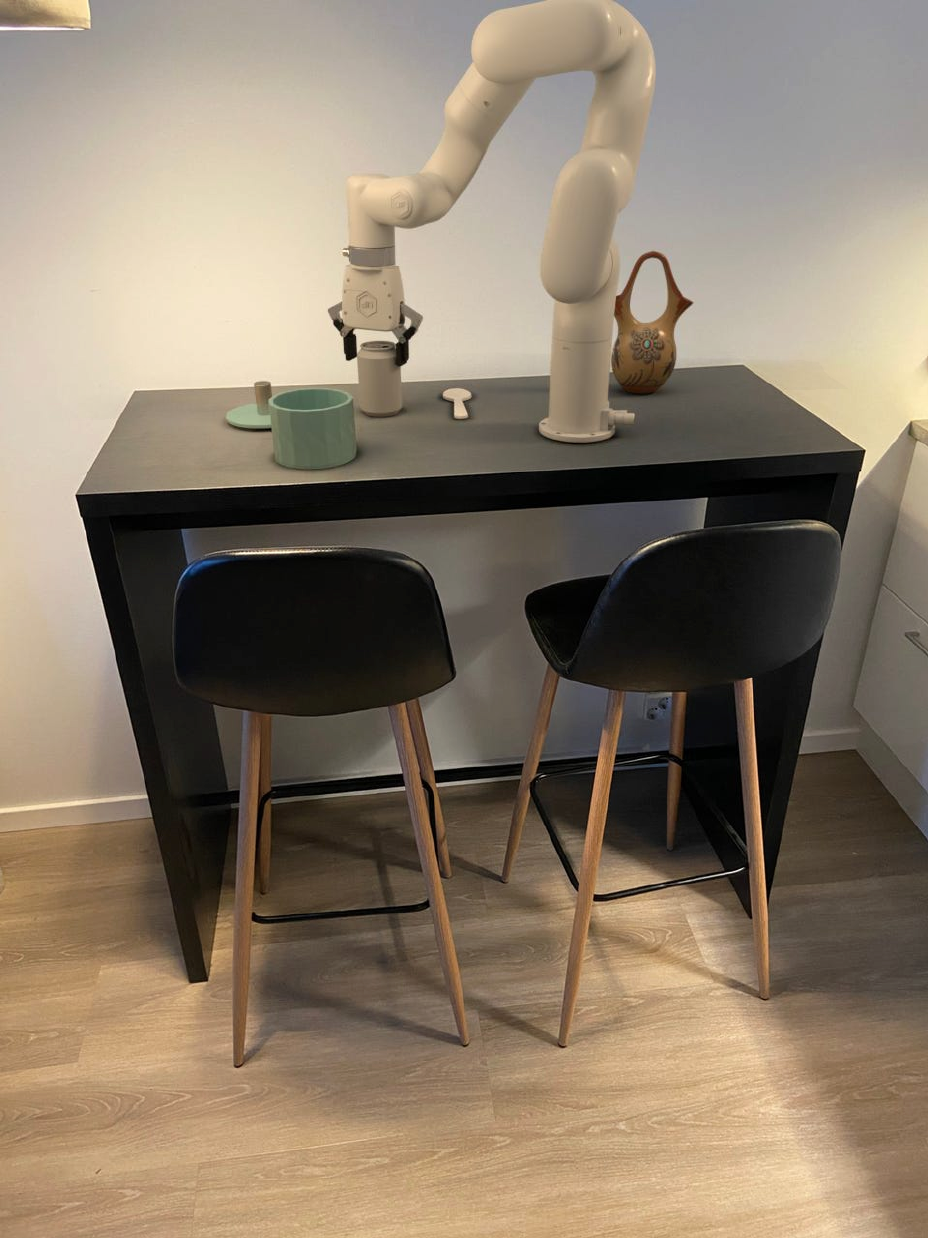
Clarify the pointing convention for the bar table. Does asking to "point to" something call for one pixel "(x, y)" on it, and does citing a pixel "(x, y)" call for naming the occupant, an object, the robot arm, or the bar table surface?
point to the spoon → (458, 401)
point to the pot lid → (253, 409)
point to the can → (379, 379)
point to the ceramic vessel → (646, 336)
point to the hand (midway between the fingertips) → (376, 361)
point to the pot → (313, 428)
